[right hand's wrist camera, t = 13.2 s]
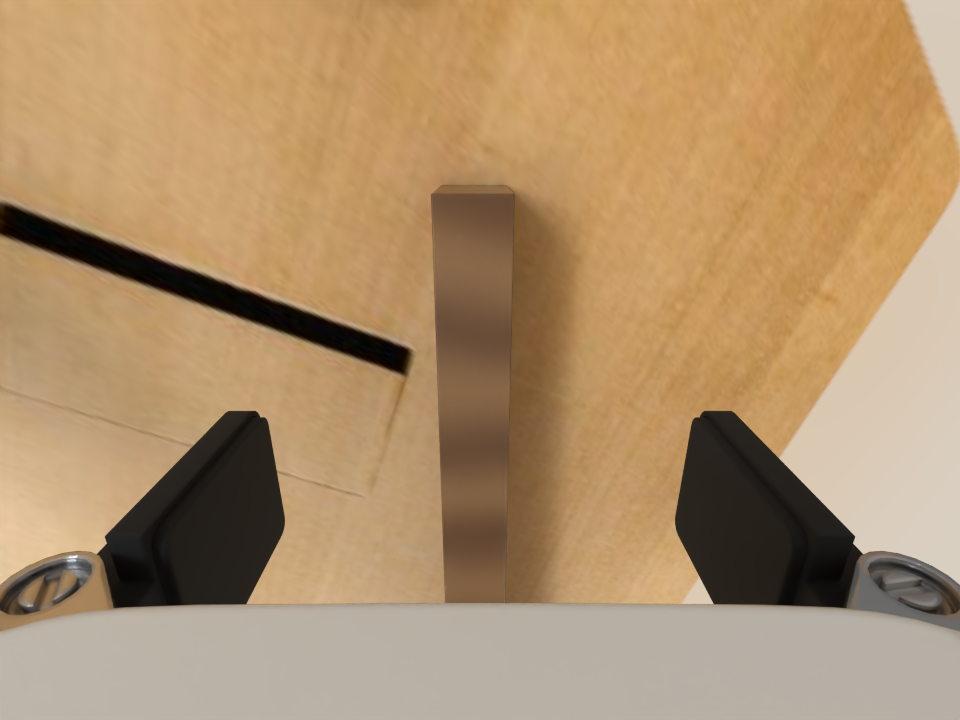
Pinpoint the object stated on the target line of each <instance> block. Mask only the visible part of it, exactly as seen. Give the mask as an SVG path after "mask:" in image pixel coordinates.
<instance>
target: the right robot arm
mask: <svg viewBox="0 0 960 720" xmlns="http://www.w3.org/2000/svg"><path fill="white" fill-rule="evenodd" d="M284 525H285V516H284V510H283V505H282V499H281V493H280V488H279V482H278V476H277V470H276V465H275V459H274V453H273V448H272V442H271V436H270V430H269V425H268V421H267V419H266V418H260V416H259V414H258V413H257V412H256V411H228V412H226V413H225V414H224V415H223V416H222V417H221V418H220V419H219V420H218V421H217V422H216V423H215V424H214V425H213V426H212V427H211V428H210V429H209V430H208V432H207V433H206V434H205V435H204V436H203V437H202V438H201V439H200V440H199V441H198V442H197V443H196V444H195V445H194V446H193V447H192V448H191V449H190V450H189V451H188V452H187V453H186V454H185V455H184V456H183V457H182V458H181V459H180V460H179V461H178V462H177V463H176V464H175V465H174V466H173V467H172V468H171V469H170V470H169V471H168V472H167V473H166V474H165V475H164V476H163V478H162V479H161V480H160V481H159V482H158V483H157V484H156V485H155V486H154V487H153V488H152V489H151V490H150V491H149V492H148V493H147V494H146V495H145V496H144V497H143V498H142V499H141V500H140V501H139V502H138V503H137V504H136V505H135V506H134V507H133V508H132V509H131V510H130V511H129V512H128V513H127V514H126V515H125V516H124V517H123V518H122V519H121V520H120V521H119V523H118V524H117V525H116V526H115V527H114V528H113V529H112V530H111V531H110V532H109V533H108V534H107V535H106V536H105V539H106V542H107V544H106V545H105V546H104V547H103V548H102V549H101V550H100V551H99V553H98V554H94V553H92V552H86V551H74V552H67V553H61V554H58V555H55V556H51V557H48V558H45V559H42V560H40V561H38V562H36V563H33V564H31V565H29V566H27V567H25V568H24V569H22V570H20V571H19V572H17V573H15V574H14V575H12V576H11V577H9V578H8V579H7V580H6V581H4V582H3V583H2V584H1V585H0V720H960V585H959V584H958V583H957V582H955V581H954V580H953V579H952V578H951V577H949V576H948V575H946V574H945V573H943V572H941V571H940V570H938V569H936V568H935V567H933V566H931V565H929V564H927V563H924V562H922V561H920V560H918V559H915V558H912V557H909V556H905V555H902V554H899V553H893V552H886V551H874V552H868V553H866V554H862V553H861V551H860V550H859V549H858V548H857V547H856V546H855V545H854V544H853V542H854V539H855V536H854V535H853V534H852V533H851V532H850V531H849V530H848V529H847V528H846V527H845V526H844V525H843V524H842V523H841V521H839V519H838V518H836V516H835V515H834V514H833V513H832V512H831V511H830V510H829V509H828V508H827V507H826V506H825V505H824V504H823V503H822V502H821V501H820V500H819V499H818V498H817V497H816V496H815V495H814V494H813V493H812V492H811V491H810V490H809V489H808V488H807V487H806V486H805V485H804V484H803V483H802V482H801V481H800V480H799V479H798V478H797V476H796V475H795V474H794V473H793V472H792V471H791V470H790V469H789V468H788V467H787V466H786V465H785V464H784V463H783V462H782V461H781V460H780V459H779V458H778V457H777V456H776V455H775V454H774V453H773V452H772V451H771V450H770V449H769V448H768V447H767V446H766V445H765V444H764V443H763V442H762V441H761V440H760V439H759V438H758V437H757V436H756V435H755V434H754V433H753V432H752V430H751V429H750V428H749V427H748V426H747V425H746V424H745V423H744V422H743V421H742V420H741V419H740V418H739V417H738V416H737V415H736V414H735V413H734V412H732V411H704V412H703V413H702V414H701V416H700V418H694V419H693V421H692V425H691V430H690V436H689V442H688V448H687V453H686V459H685V465H684V470H683V476H682V482H681V488H680V493H679V499H678V505H677V510H676V516H675V525H676V530H677V533H678V536H679V538H680V540H681V542H682V544H683V545H684V547H685V549H686V551H687V553H688V555H689V557H690V559H691V561H692V563H693V565H694V567H695V569H696V571H697V572H698V574H699V576H700V578H701V580H702V582H703V584H704V586H705V588H706V590H707V592H708V594H709V596H710V598H711V599H712V601H713V603H714V604H596V603H360V604H246V603H247V601H248V599H249V598H250V596H251V594H252V592H253V590H254V588H255V586H256V584H257V582H258V580H259V578H260V576H261V574H262V572H263V571H264V569H265V567H266V565H267V563H268V561H269V559H270V557H271V555H272V553H273V551H274V549H275V547H276V545H277V544H278V542H279V540H280V538H281V536H282V533H283V530H284Z"/></svg>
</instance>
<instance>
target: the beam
mask: <svg viewBox="0 0 960 720" xmlns="http://www.w3.org/2000/svg"><path fill="white" fill-rule="evenodd" d="M514 200H515V195H514V193H513V192H512V191H511V190H510V188H509V187H508V186H507V185H442V186H440V187H439V188H438V189H437V190H436V191H435V192H433V193H432V194H431V206H432V235H433V264H434V293H435V322H436V351H437V380H438V409H439V438H440V467H441V496H442V525H443V554H444V583H445V603H505V579H506V537H507V495H508V453H509V411H510V369H511V327H512V284H513V242H514Z"/></svg>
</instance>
